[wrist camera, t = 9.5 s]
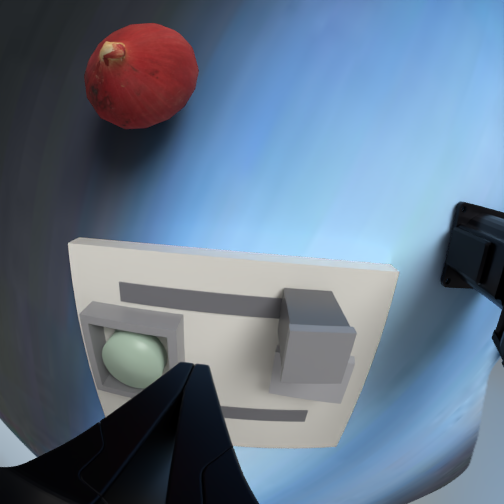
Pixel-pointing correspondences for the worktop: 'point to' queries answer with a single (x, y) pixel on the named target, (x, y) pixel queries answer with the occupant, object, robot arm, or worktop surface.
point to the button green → (134, 358)
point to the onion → (141, 75)
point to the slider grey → (313, 337)
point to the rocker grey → (309, 385)
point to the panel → (226, 326)
